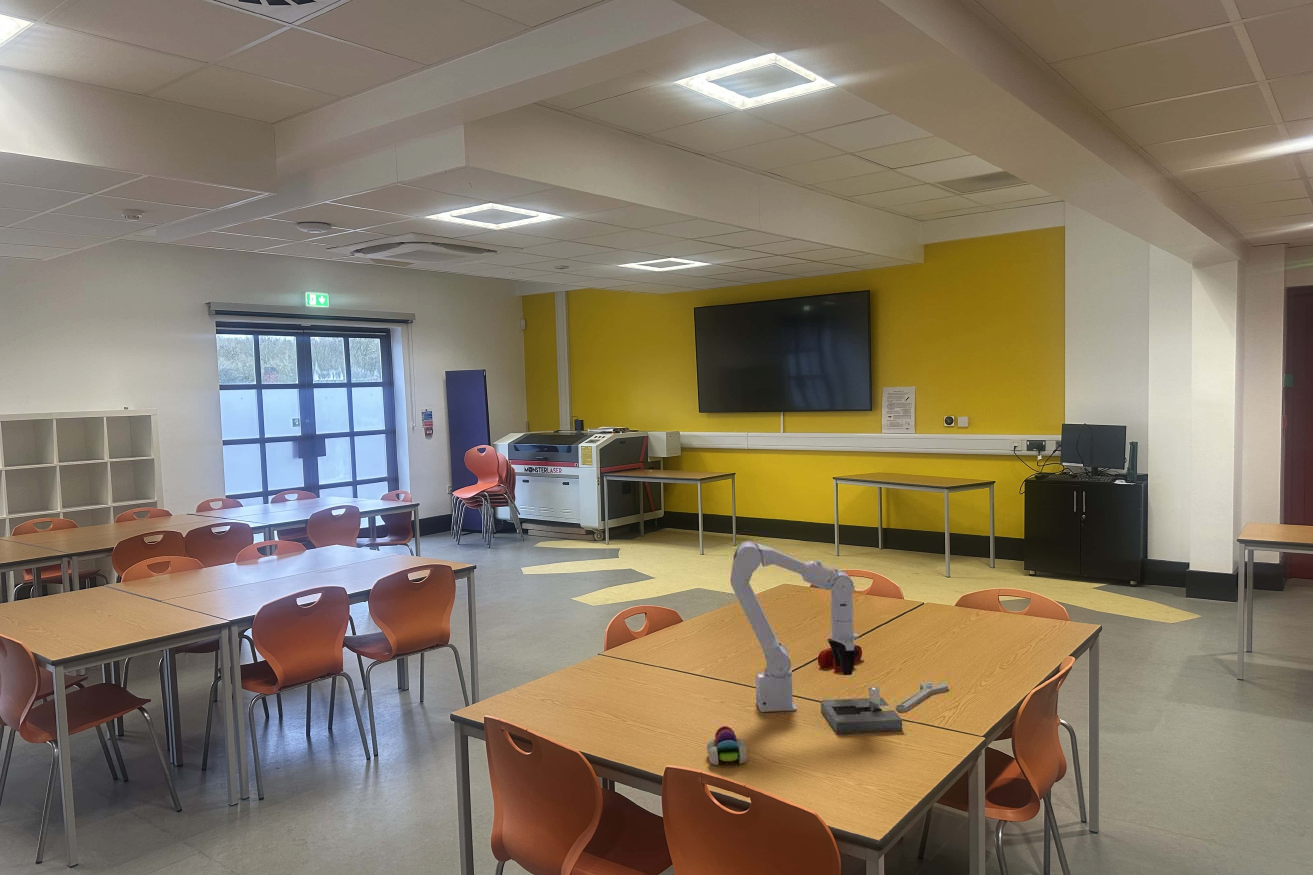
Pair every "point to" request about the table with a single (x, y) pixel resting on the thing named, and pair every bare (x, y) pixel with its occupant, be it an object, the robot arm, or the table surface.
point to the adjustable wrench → (921, 695)
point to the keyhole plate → (860, 716)
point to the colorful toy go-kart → (726, 747)
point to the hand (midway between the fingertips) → (843, 670)
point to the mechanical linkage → (828, 660)
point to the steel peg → (874, 699)
